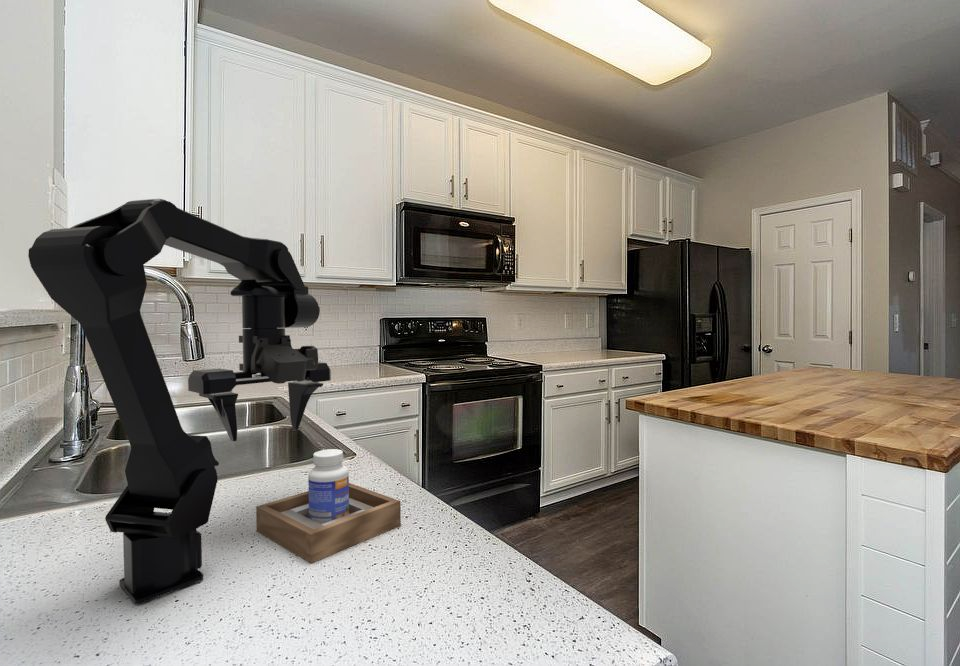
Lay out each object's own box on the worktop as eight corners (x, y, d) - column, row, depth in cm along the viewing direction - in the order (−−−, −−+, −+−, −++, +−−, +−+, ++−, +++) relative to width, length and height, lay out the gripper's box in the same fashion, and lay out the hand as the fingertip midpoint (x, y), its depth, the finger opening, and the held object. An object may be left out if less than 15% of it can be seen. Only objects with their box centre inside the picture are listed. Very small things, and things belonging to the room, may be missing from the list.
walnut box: (311, 563, 58) (310, 534, 58) (256, 531, 67) (256, 506, 67) (400, 525, 69) (400, 500, 69) (343, 502, 78) (342, 480, 78)
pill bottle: (342, 530, 65) (341, 458, 65) (302, 529, 66) (301, 457, 65) (354, 514, 71) (353, 447, 71) (317, 513, 71) (316, 447, 71)
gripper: (220, 330, 59) (222, 458, 59) (350, 327, 73) (352, 431, 73) (185, 329, 66) (188, 444, 66) (310, 327, 80) (312, 421, 80)
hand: (266, 434), depth 71 cm, fingers open, 9 cm apart
